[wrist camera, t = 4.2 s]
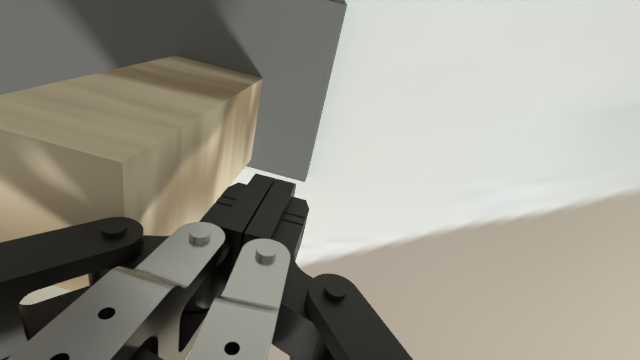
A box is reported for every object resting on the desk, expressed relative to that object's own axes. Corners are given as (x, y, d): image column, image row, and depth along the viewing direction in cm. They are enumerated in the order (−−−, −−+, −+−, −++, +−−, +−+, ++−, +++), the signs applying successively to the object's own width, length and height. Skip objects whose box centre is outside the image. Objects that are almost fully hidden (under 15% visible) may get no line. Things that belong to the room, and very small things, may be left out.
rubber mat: (-59, -99, 19) (-76, -103, 18) (347, 4, 18) (345, 4, 17) (-19, 88, 23) (-31, 90, 22) (306, 176, 22) (304, 181, 22)
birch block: (175, 55, 20) (-69, 110, 9) (263, 78, 19) (122, 162, 9) (172, 138, 22) (-25, 263, 11) (250, 159, 22) (127, 306, 11)
